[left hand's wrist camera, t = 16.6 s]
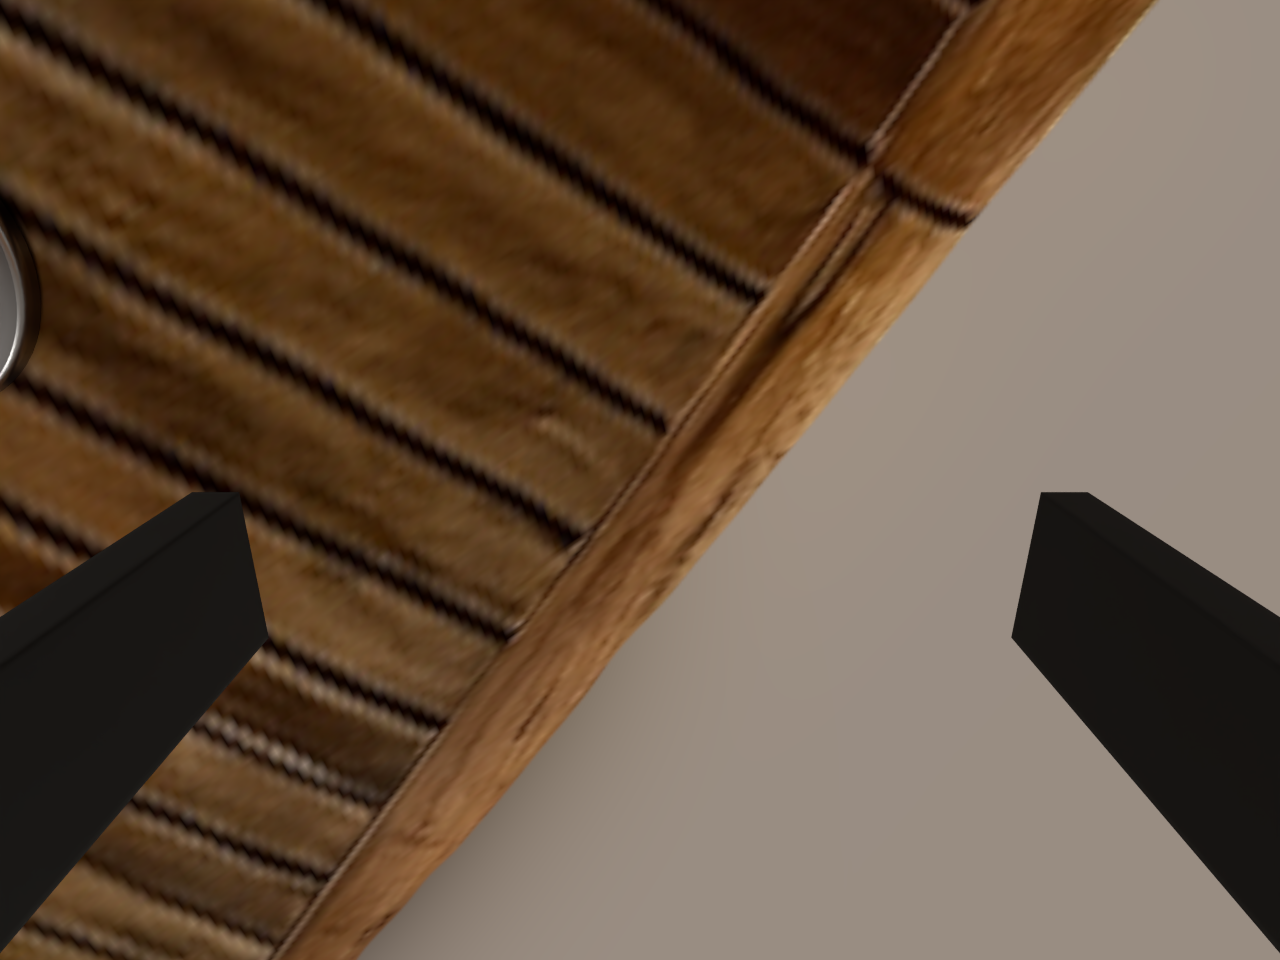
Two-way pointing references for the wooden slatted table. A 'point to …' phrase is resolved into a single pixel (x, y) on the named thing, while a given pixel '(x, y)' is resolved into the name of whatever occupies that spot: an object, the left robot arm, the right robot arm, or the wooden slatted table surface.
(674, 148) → the wooden slatted table surface
